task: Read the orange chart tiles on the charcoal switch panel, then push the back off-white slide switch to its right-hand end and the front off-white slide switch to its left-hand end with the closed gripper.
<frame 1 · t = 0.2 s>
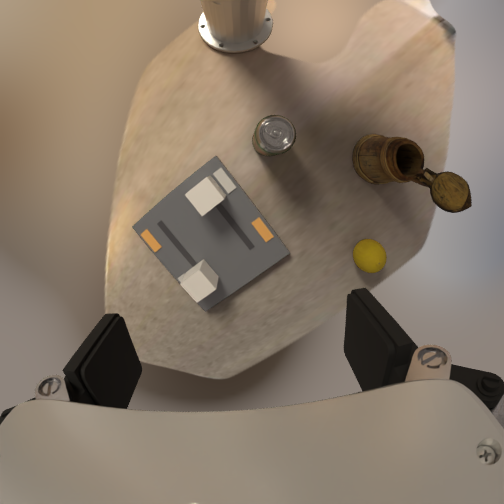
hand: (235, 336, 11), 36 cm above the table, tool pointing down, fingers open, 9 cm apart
soda can: (267, 141, 43), on the table
lemon: (360, 248, 49), on the table
switch panel: (209, 237, 47), on the table
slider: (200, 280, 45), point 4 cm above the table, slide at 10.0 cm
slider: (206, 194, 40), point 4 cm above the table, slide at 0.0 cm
wooden mug: (383, 167, 44), on the table
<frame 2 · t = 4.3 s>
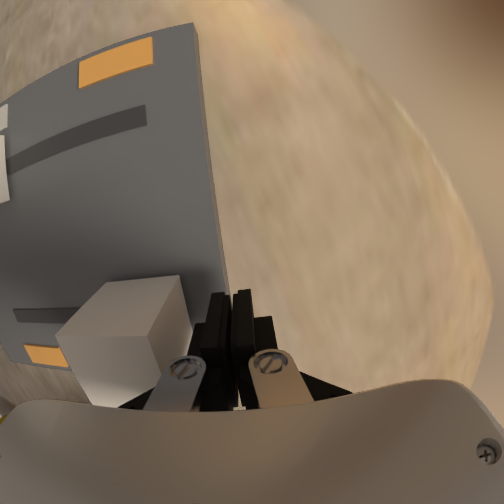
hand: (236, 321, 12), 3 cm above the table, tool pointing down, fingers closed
switch panel: (56, 232, 14), on the table
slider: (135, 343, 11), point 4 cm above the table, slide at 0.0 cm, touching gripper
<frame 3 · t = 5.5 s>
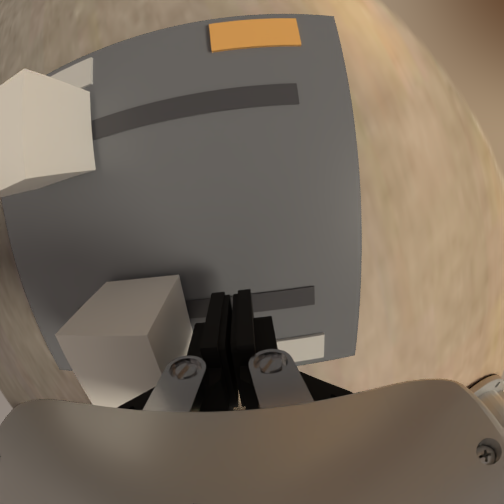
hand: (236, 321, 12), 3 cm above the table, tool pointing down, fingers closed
switch panel: (154, 213, 13), on the table
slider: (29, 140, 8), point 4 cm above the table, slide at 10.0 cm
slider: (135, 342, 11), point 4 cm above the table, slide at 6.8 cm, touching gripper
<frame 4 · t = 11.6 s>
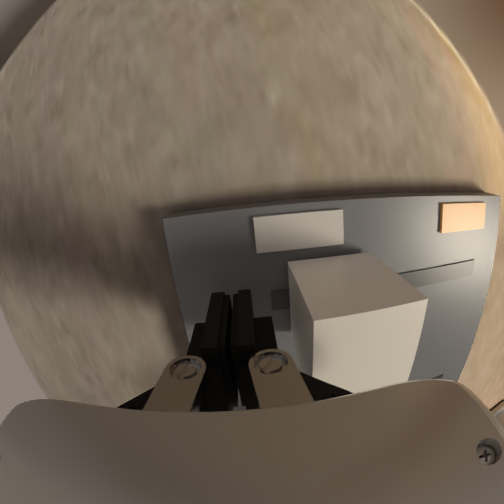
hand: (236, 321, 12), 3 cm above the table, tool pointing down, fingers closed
switch panel: (359, 342, 16), on the table
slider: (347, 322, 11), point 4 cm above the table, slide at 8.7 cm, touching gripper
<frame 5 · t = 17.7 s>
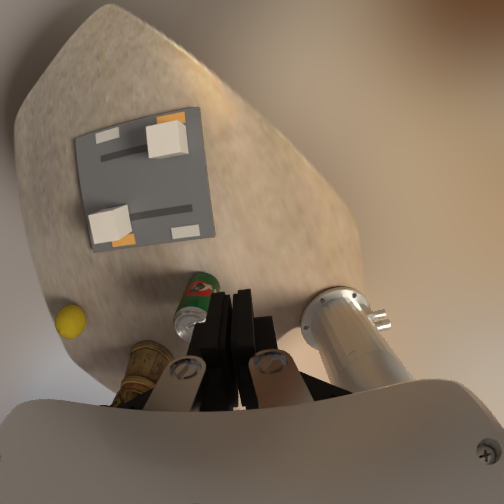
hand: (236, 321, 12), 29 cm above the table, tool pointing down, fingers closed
soda can: (204, 285, 43), on the table
lemon: (81, 310, 44), on the table
switch panel: (141, 182, 38), on the table
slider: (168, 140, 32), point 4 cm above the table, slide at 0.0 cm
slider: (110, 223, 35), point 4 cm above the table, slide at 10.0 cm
wooden mug: (144, 361, 48), on the table
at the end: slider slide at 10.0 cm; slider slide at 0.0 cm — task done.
